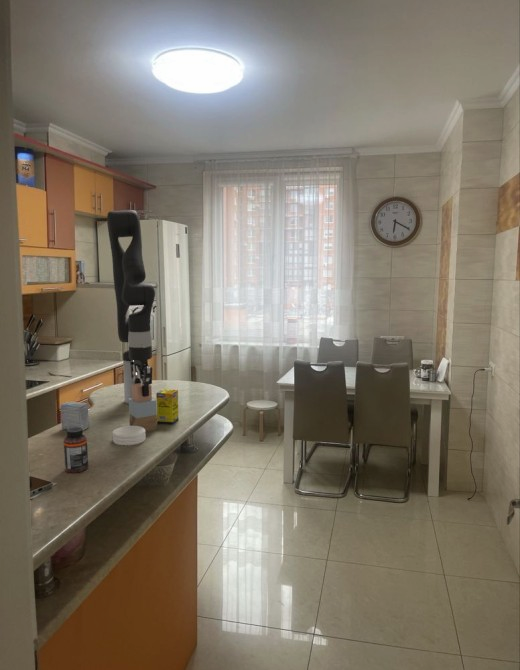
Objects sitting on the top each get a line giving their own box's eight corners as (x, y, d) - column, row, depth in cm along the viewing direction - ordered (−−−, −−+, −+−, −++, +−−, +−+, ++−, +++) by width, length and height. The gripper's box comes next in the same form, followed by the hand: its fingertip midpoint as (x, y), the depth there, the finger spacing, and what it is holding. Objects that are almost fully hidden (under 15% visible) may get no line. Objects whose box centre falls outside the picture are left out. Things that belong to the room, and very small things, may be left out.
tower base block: (129, 427, 179) (129, 413, 178) (149, 423, 183) (148, 409, 182) (137, 433, 173) (136, 418, 173) (157, 429, 177) (156, 414, 176)
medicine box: (89, 428, 178) (88, 403, 177) (81, 432, 174) (80, 406, 173) (70, 425, 181) (69, 401, 180) (61, 429, 177) (60, 404, 175)
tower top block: (129, 413, 178) (128, 398, 178) (148, 409, 182) (148, 395, 182) (136, 418, 173) (135, 403, 172) (156, 414, 176) (156, 400, 176)
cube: (132, 398, 178) (131, 384, 177) (146, 396, 180) (145, 382, 180) (137, 402, 174) (136, 387, 173) (151, 399, 176) (151, 385, 176)
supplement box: (173, 424, 182) (172, 393, 180) (156, 423, 183) (155, 392, 181) (179, 419, 188) (178, 389, 186) (163, 418, 189) (162, 388, 187)
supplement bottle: (68, 465, 146) (66, 425, 145) (90, 464, 147) (88, 425, 145) (62, 473, 141) (60, 433, 139) (85, 473, 141) (83, 432, 139)
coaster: (106, 443, 164) (105, 432, 163) (126, 433, 173) (125, 423, 172) (132, 448, 160) (132, 437, 159) (152, 438, 169) (151, 427, 169)
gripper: (121, 342, 178) (123, 391, 180) (137, 348, 166) (139, 400, 168) (142, 340, 182) (144, 388, 184) (159, 346, 170) (161, 397, 173)
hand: (141, 394), depth 176 cm, fingers open, 6 cm apart
